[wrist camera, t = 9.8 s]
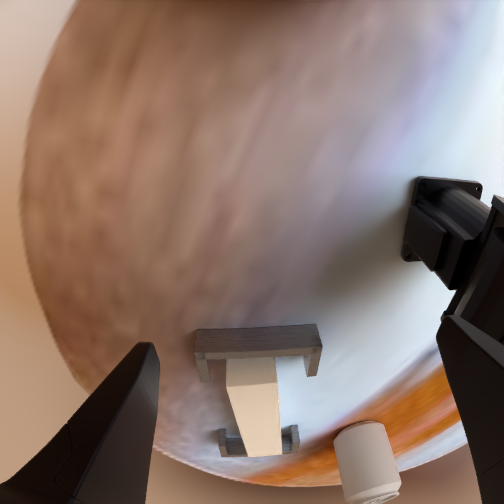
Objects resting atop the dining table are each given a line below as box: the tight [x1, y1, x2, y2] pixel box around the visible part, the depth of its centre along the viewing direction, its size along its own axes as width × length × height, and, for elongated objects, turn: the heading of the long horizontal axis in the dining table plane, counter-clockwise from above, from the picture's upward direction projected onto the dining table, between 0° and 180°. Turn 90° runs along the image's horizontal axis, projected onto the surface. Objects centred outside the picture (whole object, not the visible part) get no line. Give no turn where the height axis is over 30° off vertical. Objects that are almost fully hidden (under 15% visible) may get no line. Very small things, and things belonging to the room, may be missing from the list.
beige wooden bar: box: [226, 357, 282, 457], centre depth 28 cm, size 4×16×4 cm, turn 6°
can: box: [334, 421, 401, 504], centre depth 31 cm, size 8×8×12 cm
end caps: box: [194, 324, 322, 457], centre depth 29 cm, size 10×22×2 cm, turn 1°
